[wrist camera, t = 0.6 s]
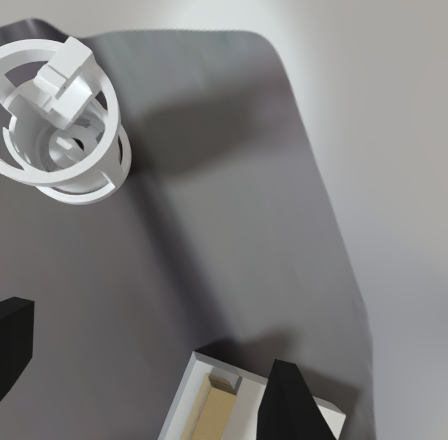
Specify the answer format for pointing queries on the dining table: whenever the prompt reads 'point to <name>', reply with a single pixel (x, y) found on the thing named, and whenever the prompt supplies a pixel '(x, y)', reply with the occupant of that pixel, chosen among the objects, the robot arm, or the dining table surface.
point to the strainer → (63, 122)
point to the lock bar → (210, 410)
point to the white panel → (243, 407)
